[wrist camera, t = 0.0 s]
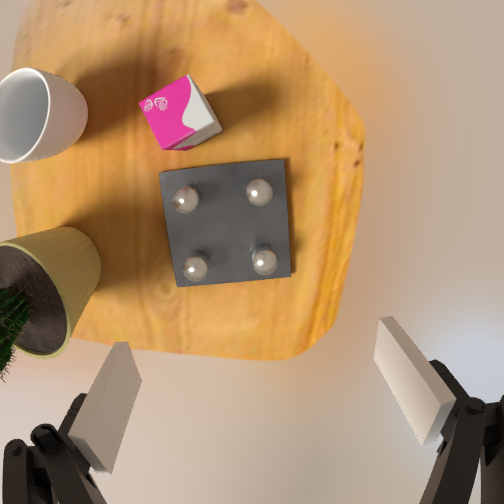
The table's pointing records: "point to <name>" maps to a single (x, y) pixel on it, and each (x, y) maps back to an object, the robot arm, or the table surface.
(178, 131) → the supplement box
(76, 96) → the mug
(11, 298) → the potted cactus
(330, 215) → the table surface
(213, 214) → the chassis
